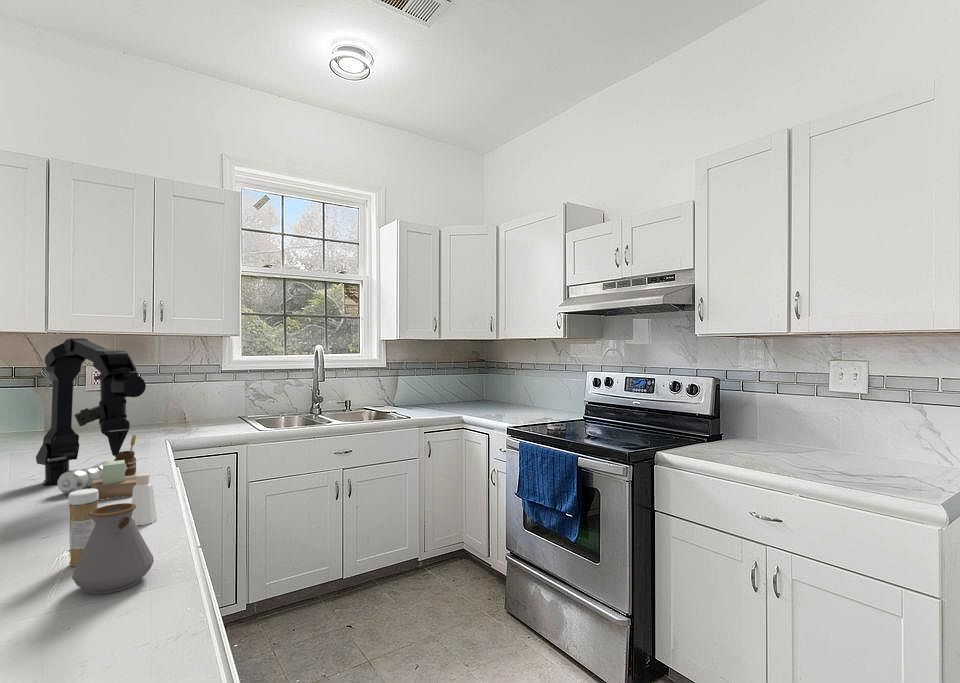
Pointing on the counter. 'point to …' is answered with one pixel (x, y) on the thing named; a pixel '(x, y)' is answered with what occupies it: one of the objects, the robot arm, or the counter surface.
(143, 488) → the salt shaker
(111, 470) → the sage cube
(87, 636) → the counter surface
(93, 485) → the walnut block
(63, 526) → the counter surface
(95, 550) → the coffee pot
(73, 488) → the plastic bottle
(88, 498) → the sprinkles bottle
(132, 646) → the counter surface
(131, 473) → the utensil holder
